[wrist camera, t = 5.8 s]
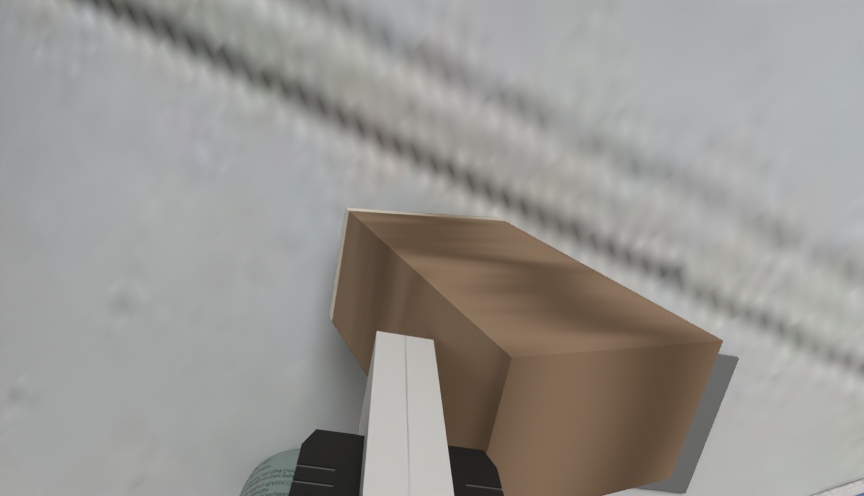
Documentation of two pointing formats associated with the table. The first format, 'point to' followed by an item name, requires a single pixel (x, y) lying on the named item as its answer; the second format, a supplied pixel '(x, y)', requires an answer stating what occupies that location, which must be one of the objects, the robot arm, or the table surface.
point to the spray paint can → (272, 476)
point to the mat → (699, 427)
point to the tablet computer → (846, 490)
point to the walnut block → (526, 349)
